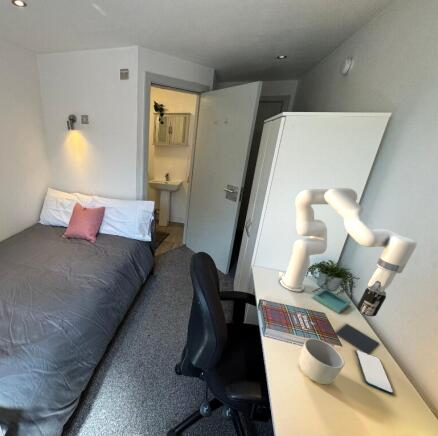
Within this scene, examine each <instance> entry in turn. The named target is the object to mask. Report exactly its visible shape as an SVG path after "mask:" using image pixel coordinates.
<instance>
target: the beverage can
mask: <svg viewBox="0 0 438 436" xmlns="http://www.w3.org/2000/svg"><path fill="white" fill-rule="evenodd" d="M371 287H372V286H371ZM371 287H368V286H367V288H365V290H364V291H363V293H362V296H361V298H360V300H359V302H358V304H357V305H356V309H357V311H359V312H360V313H361V314H362V315H365V316H366V317H376V316H377V315H378V313H379V312H380V310H381V307H382V305H383V304H384V302H385V300H386V299H387V292H386V291H385V290H384V291H383V292H380V293H379V294H378V296H377V297H378V298H377V300H376V301H375V303H374V304H371V303H369V302H367V301H365V300H364V299H365V297H366V295H367V293H368V292H369V291H370V289H371ZM377 290H379V289H378V288H377ZM377 292H378V291H376V293H377Z"/></svg>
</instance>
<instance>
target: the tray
mask: <svg viewBox="0 0 438 436" xmlns="http://www.w3.org/2000/svg"><path fill="white" fill-rule="evenodd" d="M313 299H314V300H315V301H317V302H319V303H320V304H322V305H324V306H326V307H327V308H329V309H331V310H333V311H334V312H336V313H338V314H340V313H341V312H343V311H344V310H345V309H347V308H348V307H350V305H351V303H352V302H351V301H349V300H348V299H345V298H344V297H343V296H340V295H338V294H336V293H334V292H332V291H331V290H329V289H327V288H325V289H323V290H321V291H319V292H318V293H316V294H314V295H313Z"/></svg>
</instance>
